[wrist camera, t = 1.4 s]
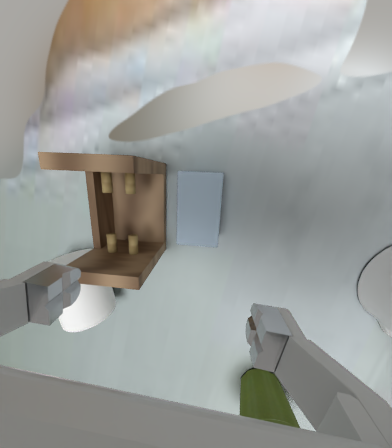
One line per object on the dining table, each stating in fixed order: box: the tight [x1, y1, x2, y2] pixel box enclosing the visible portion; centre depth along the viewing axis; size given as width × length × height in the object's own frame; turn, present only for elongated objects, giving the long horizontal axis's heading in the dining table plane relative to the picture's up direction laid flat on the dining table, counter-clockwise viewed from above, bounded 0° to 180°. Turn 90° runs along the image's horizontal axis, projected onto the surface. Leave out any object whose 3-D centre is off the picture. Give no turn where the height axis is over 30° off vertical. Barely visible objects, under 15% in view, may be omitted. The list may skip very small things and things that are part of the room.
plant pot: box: [240, 369, 300, 428], centre depth 30 cm, size 12×12×11 cm
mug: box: [49, 248, 116, 332], centre depth 29 cm, size 12×10×8 cm
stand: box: [38, 152, 166, 290], centre depth 23 cm, size 9×14×11 cm, turn 178°
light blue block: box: [177, 171, 224, 247], centre depth 25 cm, size 6×10×5 cm, turn 178°
